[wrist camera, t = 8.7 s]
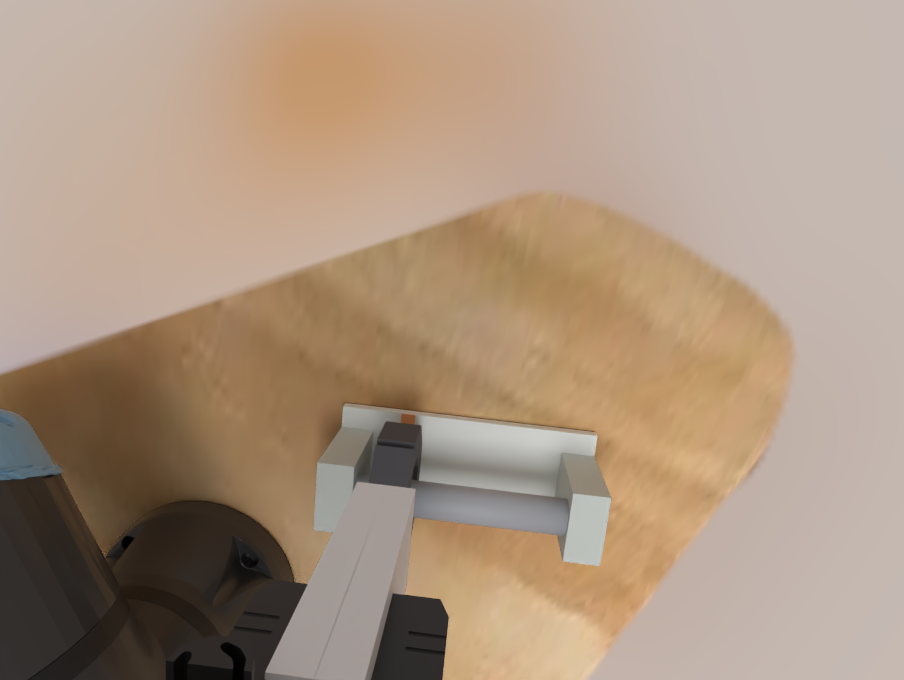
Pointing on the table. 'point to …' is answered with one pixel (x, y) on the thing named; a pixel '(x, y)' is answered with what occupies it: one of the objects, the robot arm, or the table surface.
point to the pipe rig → (479, 476)
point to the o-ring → (397, 455)
